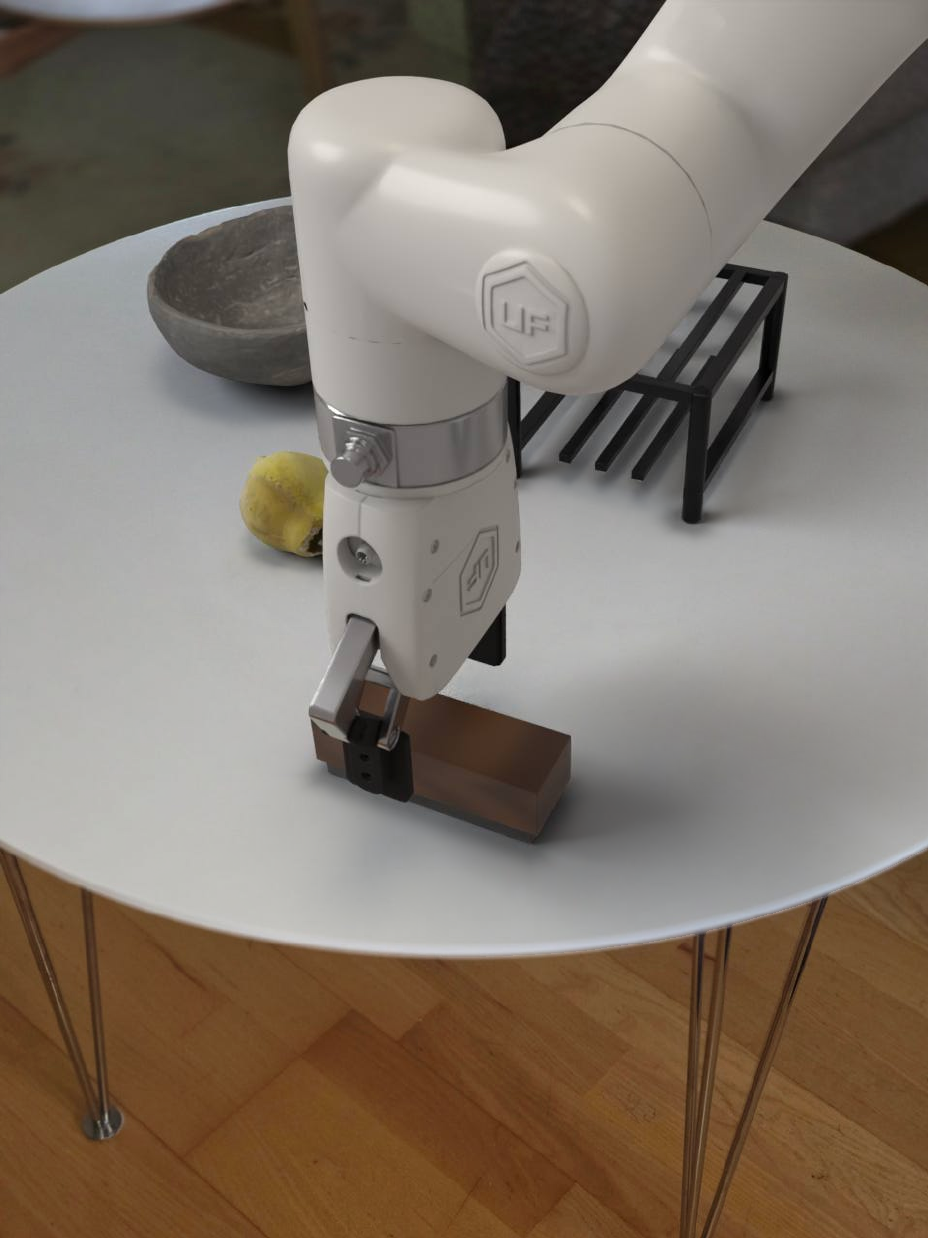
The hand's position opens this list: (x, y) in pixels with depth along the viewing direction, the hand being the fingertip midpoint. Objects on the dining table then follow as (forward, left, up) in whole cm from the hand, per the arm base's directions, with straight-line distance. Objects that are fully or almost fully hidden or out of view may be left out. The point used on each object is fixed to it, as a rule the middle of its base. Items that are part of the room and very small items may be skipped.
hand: (430, 719), depth 65 cm
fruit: (+16, -14, -5) cm, 21 cm away
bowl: (+29, -32, -5) cm, 43 cm away
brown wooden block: (0, 0, -4) cm, 4 cm away
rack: (+2, -33, -4) cm, 33 cm away
